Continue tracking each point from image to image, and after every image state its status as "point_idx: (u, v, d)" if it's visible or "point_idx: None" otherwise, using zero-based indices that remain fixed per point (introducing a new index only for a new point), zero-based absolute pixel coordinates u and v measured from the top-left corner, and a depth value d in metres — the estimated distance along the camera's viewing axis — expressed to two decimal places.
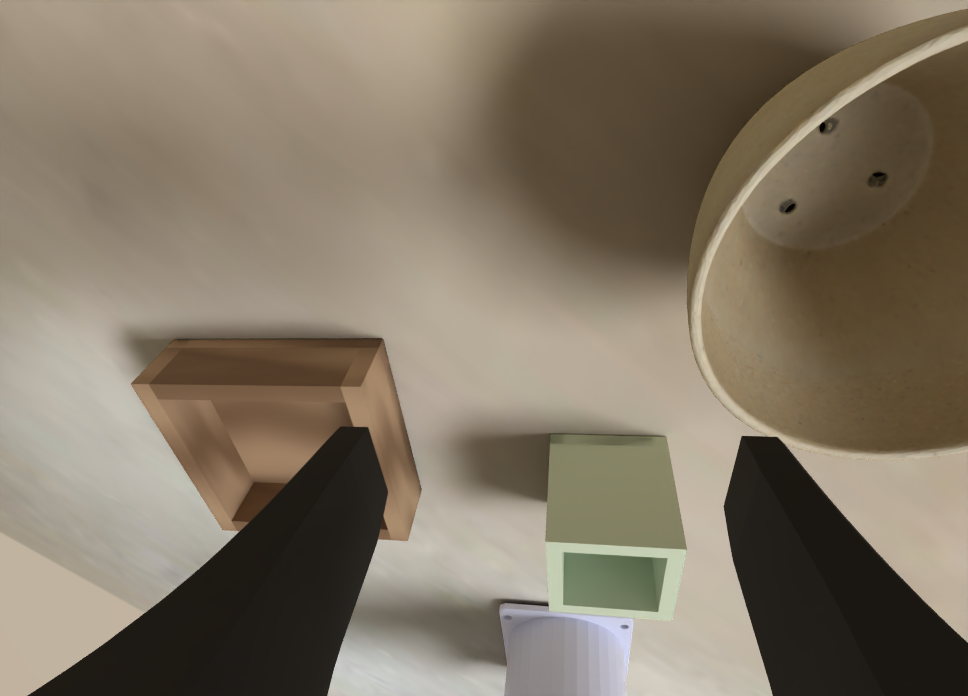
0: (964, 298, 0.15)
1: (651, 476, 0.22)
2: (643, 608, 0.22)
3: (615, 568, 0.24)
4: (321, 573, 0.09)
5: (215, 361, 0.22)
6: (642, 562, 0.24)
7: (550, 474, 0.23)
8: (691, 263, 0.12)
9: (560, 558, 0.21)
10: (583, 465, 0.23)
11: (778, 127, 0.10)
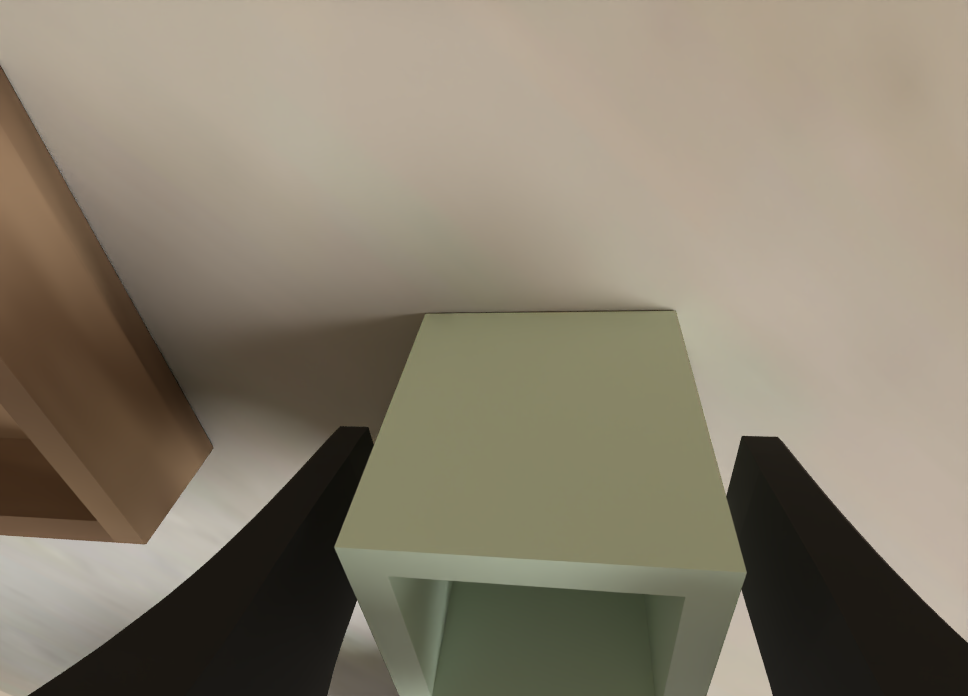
0: None
1: (641, 385, 0.09)
2: None
3: (561, 607, 0.11)
4: (321, 573, 0.09)
5: None
6: (622, 592, 0.11)
7: (401, 386, 0.10)
8: None
9: (390, 593, 0.08)
10: (482, 368, 0.10)
11: None
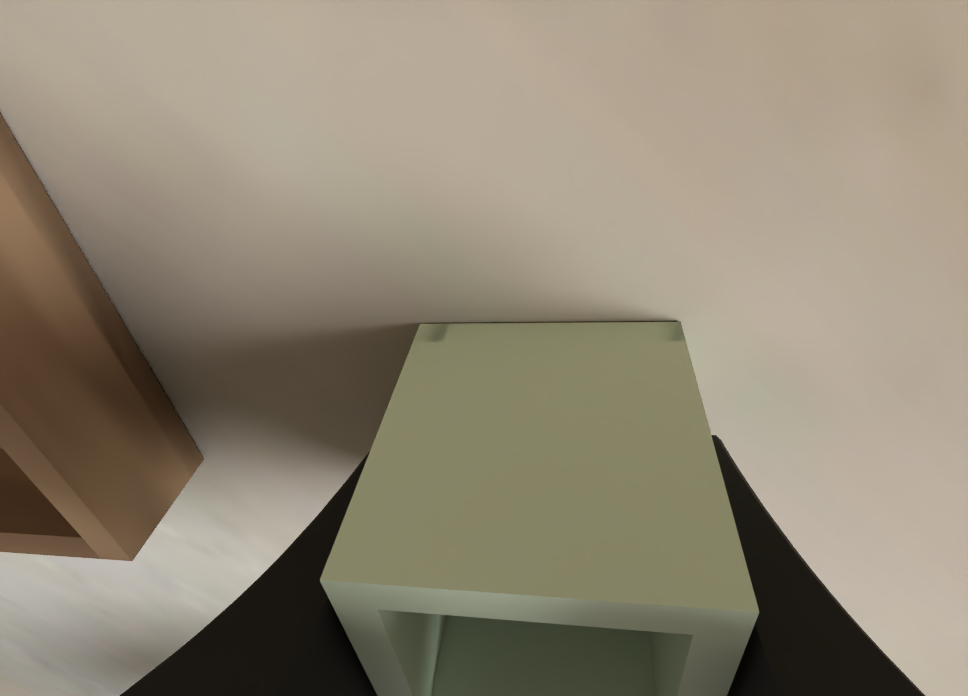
0: None
1: (644, 402, 0.09)
2: None
3: (561, 630, 0.10)
4: None
5: None
6: None
7: (393, 402, 0.09)
8: None
9: (379, 625, 0.07)
10: (479, 383, 0.09)
11: None
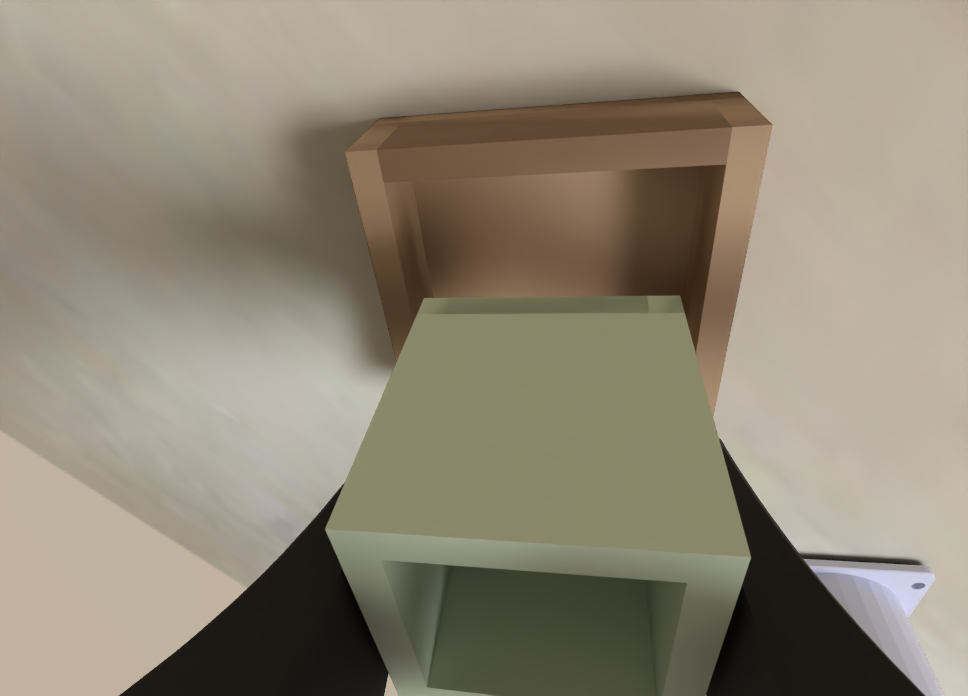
0: None
1: (643, 369, 0.09)
2: None
3: (560, 597, 0.10)
4: None
5: (471, 126, 0.14)
6: (623, 583, 0.11)
7: (397, 369, 0.09)
8: None
9: (383, 578, 0.07)
10: (481, 352, 0.10)
11: None
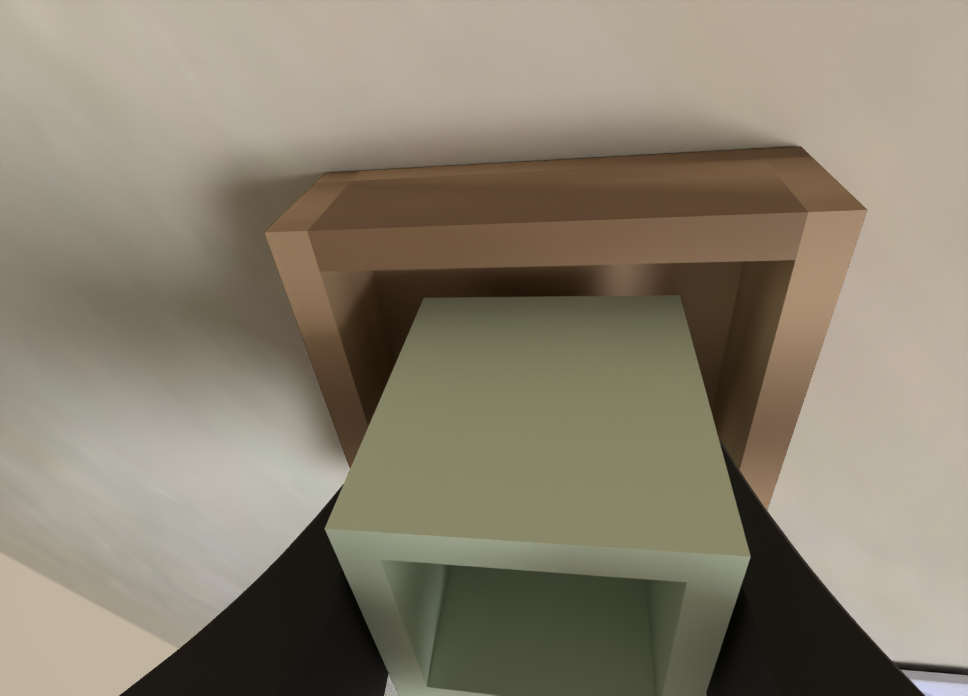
0: None
1: (642, 368, 0.09)
2: None
3: (560, 597, 0.10)
4: None
5: (440, 193, 0.10)
6: (623, 583, 0.11)
7: (397, 369, 0.09)
8: None
9: (382, 577, 0.07)
10: (481, 351, 0.10)
11: None
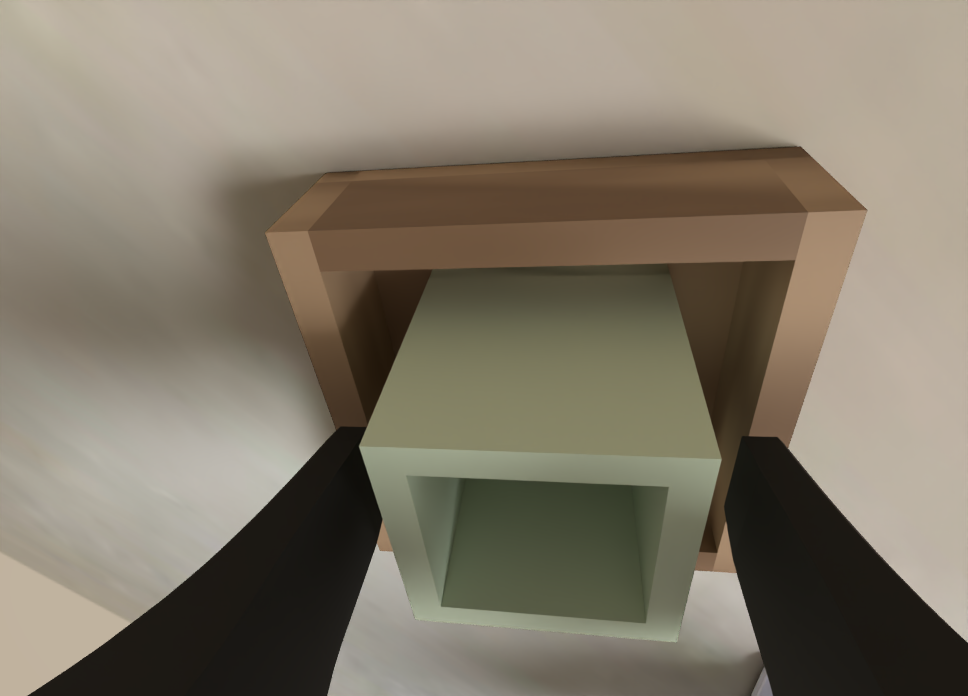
0: None
1: (632, 319, 0.10)
2: (613, 615, 0.10)
3: (559, 532, 0.12)
4: (321, 573, 0.09)
5: (441, 193, 0.10)
6: (615, 519, 0.12)
7: (414, 322, 0.10)
8: None
9: (407, 493, 0.09)
10: (489, 307, 0.11)
11: None
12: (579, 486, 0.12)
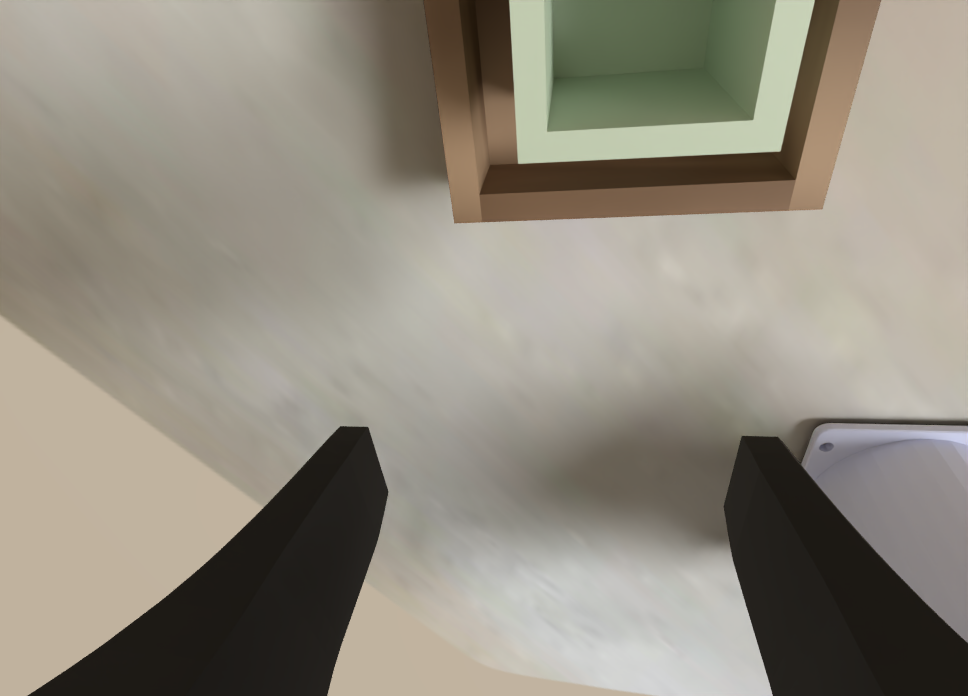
0: None
1: None
2: (719, 122, 0.10)
3: (653, 102, 0.12)
4: (321, 573, 0.09)
5: None
6: (707, 93, 0.12)
7: None
8: None
9: None
10: None
11: None
12: (666, 88, 0.13)
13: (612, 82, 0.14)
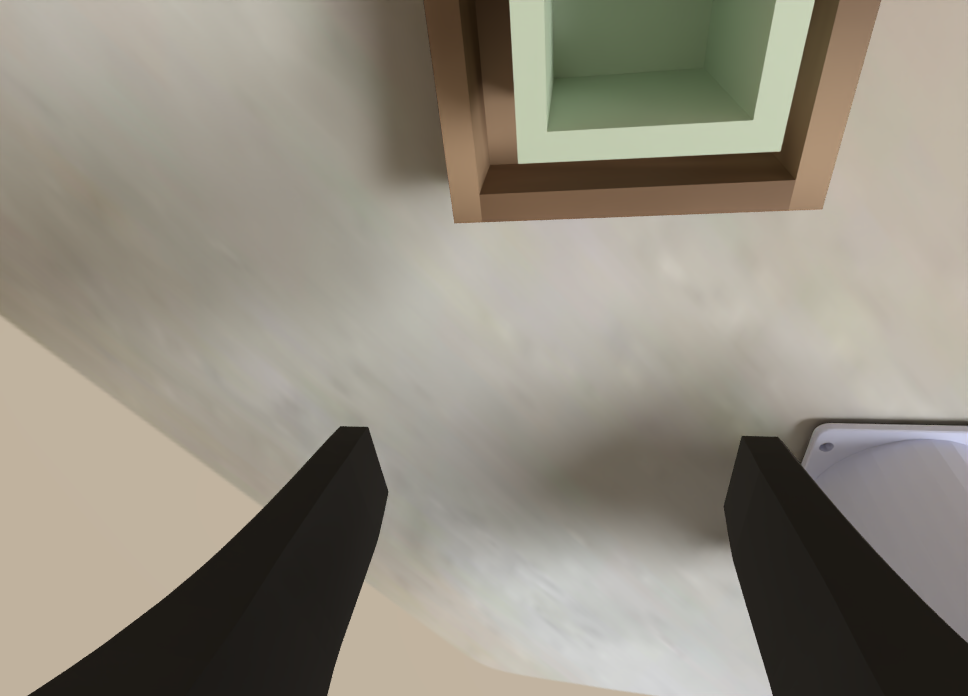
0: None
1: None
2: (719, 122, 0.10)
3: (653, 102, 0.12)
4: (321, 573, 0.09)
5: None
6: (707, 93, 0.12)
7: None
8: None
9: None
10: None
11: None
12: (666, 88, 0.13)
13: (612, 82, 0.14)
